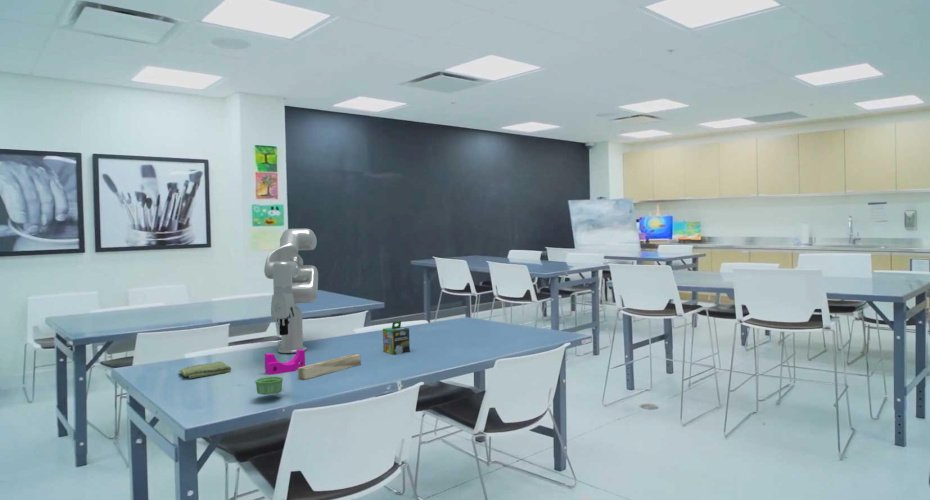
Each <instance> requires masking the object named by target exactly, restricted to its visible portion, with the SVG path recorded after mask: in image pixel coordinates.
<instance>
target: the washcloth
mask: <svg viewBox="0 0 930 500" xmlns="http://www.w3.org/2000/svg"><path fill="white" fill-rule="evenodd" d="M231 370H232V367H231V366H230V365H228V364H226V363H225V362H223V361H220V360H219V361H214V362H210V363H203V364H195V365H190V366H186V367H184V368H181V369H179V371H178V372H179V373H180V375H181V376H183V377H186V378H188V379H195V378H201V377H206V376H207V377H208V376H213V375H219V374H225V373H229V372H230V371H231Z"/></svg>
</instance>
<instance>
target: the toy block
mask: <svg viewBox="0 0 930 500" xmlns="http://www.w3.org/2000/svg"><path fill="white" fill-rule="evenodd" d="M304 366H306V350H302V349H299V350H297V352H296V353H295V355H294V356H293V358H291V359H290V360H289V361H287V362H286V361H285V362H280V361H278V360H277V358H276V357H275V354H274V353H272V352H269V353H264V372H265V374H267V375H269V376H271V375H272V376H273V375H277V374H284V373H292V372H296V371H298V368H300V367H304Z"/></svg>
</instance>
